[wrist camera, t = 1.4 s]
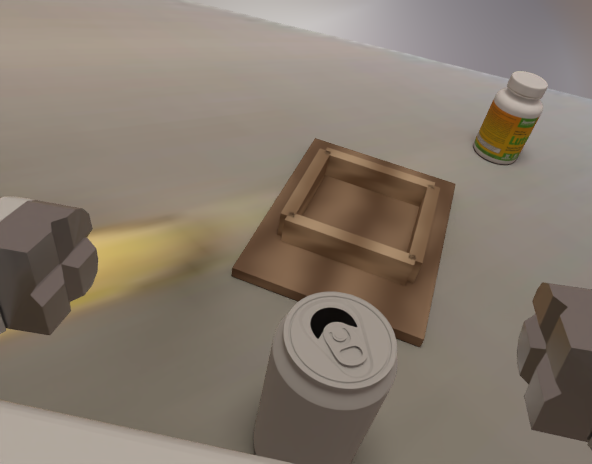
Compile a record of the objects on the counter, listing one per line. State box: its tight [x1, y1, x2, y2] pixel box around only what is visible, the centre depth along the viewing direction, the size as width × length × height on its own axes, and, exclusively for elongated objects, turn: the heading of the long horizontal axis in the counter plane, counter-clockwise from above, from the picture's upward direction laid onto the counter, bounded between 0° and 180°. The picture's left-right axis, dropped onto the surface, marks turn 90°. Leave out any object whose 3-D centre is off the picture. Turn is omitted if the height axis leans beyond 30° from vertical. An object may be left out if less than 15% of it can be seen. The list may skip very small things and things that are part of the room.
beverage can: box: [253, 292, 397, 464], centre depth 29 cm, size 6×6×12 cm
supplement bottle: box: [474, 71, 548, 164], centre depth 60 cm, size 5×5×10 cm
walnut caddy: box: [232, 138, 455, 347], centre depth 48 cm, size 16×22×4 cm
